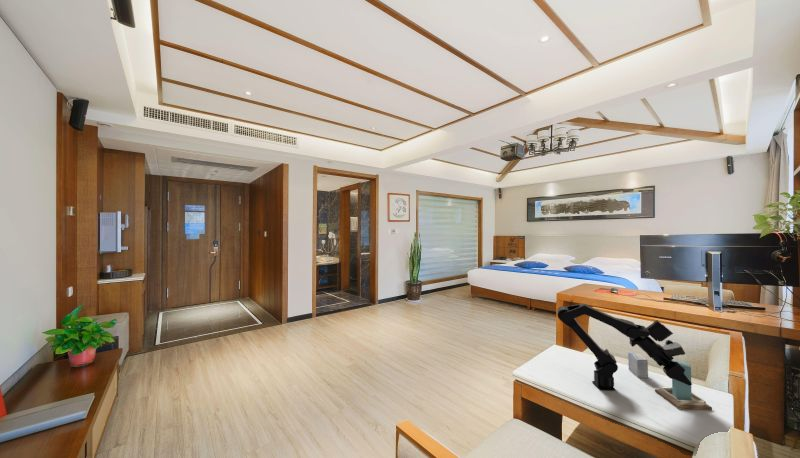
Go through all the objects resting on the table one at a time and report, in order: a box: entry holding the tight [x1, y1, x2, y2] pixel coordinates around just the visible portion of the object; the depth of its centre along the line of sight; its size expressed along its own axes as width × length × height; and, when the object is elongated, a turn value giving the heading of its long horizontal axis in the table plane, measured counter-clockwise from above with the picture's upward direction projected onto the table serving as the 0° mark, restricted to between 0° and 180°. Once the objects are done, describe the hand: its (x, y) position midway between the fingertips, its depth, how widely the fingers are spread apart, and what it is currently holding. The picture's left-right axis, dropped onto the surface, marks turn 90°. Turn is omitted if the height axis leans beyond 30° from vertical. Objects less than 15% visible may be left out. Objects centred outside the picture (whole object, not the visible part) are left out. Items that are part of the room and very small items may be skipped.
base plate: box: [654, 386, 713, 411], centre depth 120 cm, size 12×12×2 cm
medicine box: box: [627, 352, 649, 379], centre depth 142 cm, size 8×4×9 cm, turn 168°
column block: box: [671, 359, 692, 400], centre depth 120 cm, size 4×4×14 cm
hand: (686, 379), depth 120 cm, fingers open, 9 cm apart
